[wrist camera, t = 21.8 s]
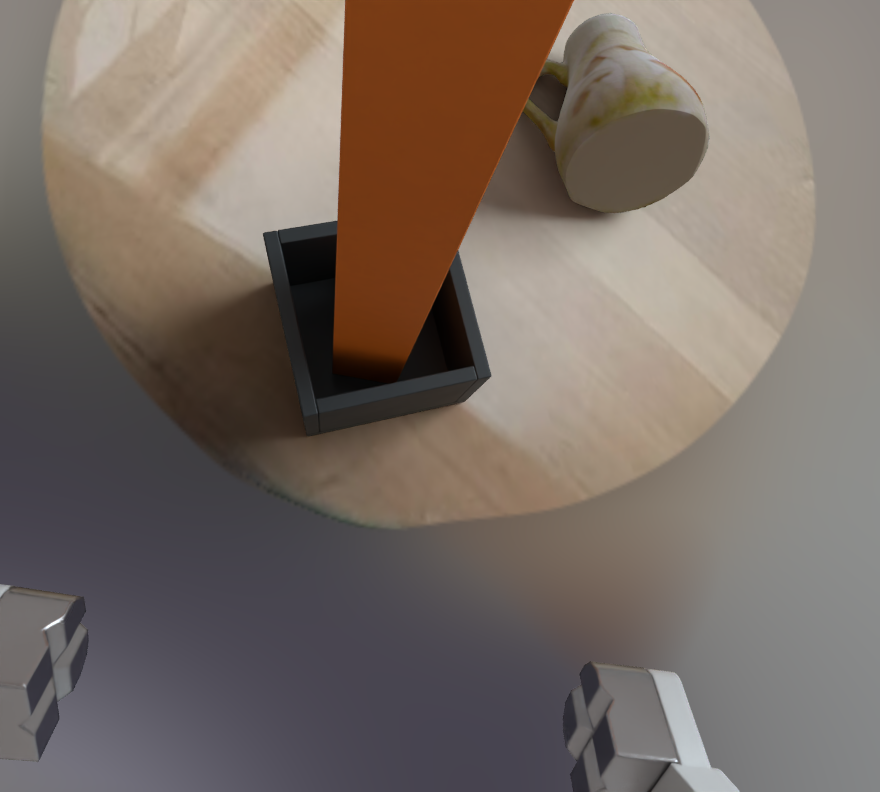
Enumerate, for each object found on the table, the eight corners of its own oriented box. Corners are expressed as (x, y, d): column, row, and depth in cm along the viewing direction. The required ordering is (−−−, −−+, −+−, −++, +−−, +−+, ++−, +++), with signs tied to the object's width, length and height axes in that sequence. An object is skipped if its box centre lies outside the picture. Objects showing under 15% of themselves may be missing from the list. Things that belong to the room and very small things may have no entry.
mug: (637, 44, 39) (775, 6, 30) (597, 217, 42) (715, 229, 33) (523, 4, 36) (639, -50, 28) (487, 193, 39) (583, 199, 30)
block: (331, 373, 32) (361, -504, 5) (347, 293, 33) (442, -830, 6) (395, 384, 32) (747, -370, 5) (408, 305, 33) (769, -695, 6)
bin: (307, 436, 32) (303, 417, 26) (272, 281, 33) (262, 232, 28) (465, 401, 33) (491, 376, 28) (427, 254, 35) (445, 202, 29)
